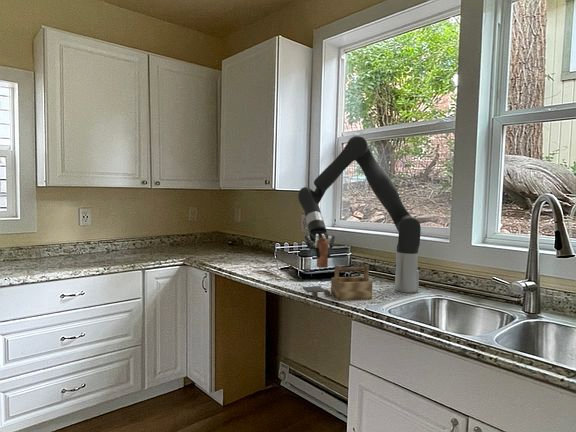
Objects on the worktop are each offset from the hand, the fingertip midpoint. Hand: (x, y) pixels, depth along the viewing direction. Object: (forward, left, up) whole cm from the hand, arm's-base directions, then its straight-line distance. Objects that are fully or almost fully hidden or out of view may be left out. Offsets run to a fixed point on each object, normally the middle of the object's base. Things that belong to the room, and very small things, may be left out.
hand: (323, 256), depth 162 cm
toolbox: (-12, +1, -17) cm, 20 cm away
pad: (0, -12, -17) cm, 20 cm away
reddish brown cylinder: (0, -2, -5) cm, 5 cm away
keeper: (0, -2, -17) cm, 17 cm away
